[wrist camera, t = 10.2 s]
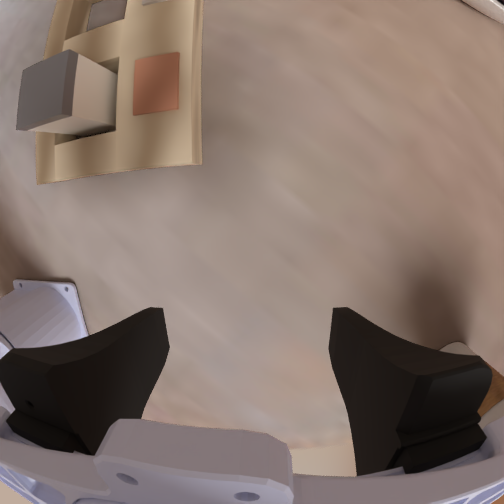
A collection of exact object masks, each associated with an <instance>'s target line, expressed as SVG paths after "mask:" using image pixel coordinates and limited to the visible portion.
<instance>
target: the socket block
mask: <svg viewBox="0 0 504 504" xmlns="http://www.w3.org/2000/svg"><path fill="white" fill-rule="evenodd" d="M99 1H102V0H57V3H56V7H55V10H54V14H53V17H52V21H51V25H50V29H49V33H48V38H47V42H46V47H45V52H44V58H43V60H45V59H47V58H49V57H52V56H54V55H56V54H58V53H61V52H63V51H66V50H68V49H70V50H72V51H74V52H76V53H78V54H80V55H82V56H84V57H86V58H88V59H90V60H92V61H93V62H95V63H97V64H99V65H101V66H103V67H104V68H106V69H108V70H110V71H112V72H113V73H118V83H117V102H116V131H114V132H109V133H104V134H99V135H94V136H90V137H86V138H81V139H77V140H76V135H70V134H61V133H50V132H39V131H36V179H37V185H39V184H46V183H54V182H61V181H66V180H72V179H77V178H83V177H90V176H96V175H103V174H110V173H117V172H125V171H133V170H142V169H151V168H162V167H173V166H185V165H199V164H202V122H201V67H202V26H203V3H204V0H128V1H127V6H126V12H125V18H124V19H122V20H119V21H116V22H113V23H110V24H107V25H104V26H101V27H98V28H95V29H92V30H90V31H87V32H86V30H87V25H88V20H89V15H90V11H91V6H92V4H94V3H97V2H99Z"/></svg>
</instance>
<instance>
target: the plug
mask: <svg viewBox="0 0 504 504" xmlns="http://www.w3.org/2000/svg"><path fill="white" fill-rule="evenodd" d="M117 83H118V75H117V74H115V73H113V72H112V71H110V70H108V69H106V68H104V67H103V66H101V65H99V64H97V63H95V62H93V61H92V60H90V59H88V58H86V57H84V56H82V55H80V54H78V53H76V52H74V51H72V50H70V49H68V50H66V51H63V52H61V53H58V54H56V55H54V56H52V57H49V58H47V59H45V60H43V61H41V62H39V63H36V64H34V65H32V66H30V67H28V68H26V69H25V70H23V73H22V80H21V86H20V94H19V102H18V112H17V125H16V130H24V131H39V132H50V133H61V134H70V135H79V136H87V135H91V134H96V133H101V132H107V131H112V130H116V102H117Z"/></svg>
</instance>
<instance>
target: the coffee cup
mask: <svg viewBox="0 0 504 504" xmlns="http://www.w3.org/2000/svg"><path fill="white" fill-rule="evenodd" d="M439 351H443V352H448V353H454V354H464V355H477V354H475V353H474V352H473V351H472V350H471V349H470V348H468V347H467V346H466V345H465V344H463V343H460V342H454V343H451V344H448V345H446V346H445V347H443V348H442V349H440V350H439ZM485 363H486V364H487V365H488V366H489V367H490V368H491V369H492V374H493V376H492V382H491V386H490V388H489V391H488V393H487V395H486V397H485V399H484V400H483V402H482V404H481V406H480V408H479V410H478V411H477V412H478V413H479V415H480V416H481V421H480V422H479V423H478V424H479V426H480V427H481V429H483V428H484V427H485V426H486V425H487V424H489V423H490V422H493V421H495V420H497V419H499V418H501V417H503V416H504V377H503V376H502V375H501V374H500V373H499V372H497V371H496V370H495V369H494V368H493V367H491V366H490V365H489V364H488V363H487V362H485Z"/></svg>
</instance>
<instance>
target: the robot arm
mask: <svg viewBox="0 0 504 504" xmlns="http://www.w3.org/2000/svg"><path fill="white" fill-rule="evenodd" d="M13 286H14V290H13V291H11V292H10V293H8V294H7V295H5V296H3V297H2V298H0V481H2V482H3V483H4V484H6V485H7V486H9V487H10V488H11V489H13V490H14V491H16V492H17V493H19V494H20V495H22V496H23V497H24V498H26V499H27V500H29V501H30V502H32V503H34V504H490V503H492V502H493V501H495V500H497V499H498V498H500V497H501V496H502V495H503V494H504V416H503V417H501V418H499V419H497V420H495V421H493V422H490V423H489V424H487V425H486V426H485V427H484V428H483V429H481V427H480V426H479V424H478V423H479V422H480V421H481V416H480V415H479V413H478V412H477V411H478V410H479V408H480V406H481V404H482V402H483V400H484V399H485V397H486V395H487V393H488V391H489V388H490V386H491V382H492V376H493V374H492V369H491V368H490V367H489V366H488V365H487V364H486V363H485V361H484V360H483V359H482V358H481V357H480V356H478V355H464V354H454V353H448V352H443V351H438V350H434V349H430V348H427V347H423V346H420V345H417V344H414V343H411V342H409V341H407V340H404V339H402V338H399V337H397V336H395V335H393V334H391V333H389V332H388V331H386V330H384V329H382V328H380V327H379V326H377V325H375V324H374V323H372V322H370V321H369V320H367V319H366V318H364V317H363V316H361V315H360V314H358V313H356V312H355V311H353V310H351V309H350V308H348V307H341V308H333V314H332V323H331V332H330V340H329V354H330V359H331V364H332V368H333V371H334V374H335V377H336V380H337V383H338V385H339V388H340V391H341V394H342V397H343V400H344V403H345V406H346V409H347V413H348V417H349V422H350V428H351V433H352V440H353V446H354V453H355V461H356V472H357V476H356V477H337V476H336V477H335V476H317V475H304V474H293V472H292V457H291V454H290V451H289V449H288V446H287V444H286V443H284V442H282V441H280V440H278V439H276V438H274V437H273V436H271V435H269V434H267V433H261V432H255V431H249V430H240V429H219V428H205V427H194V426H185V425H177V424H169V423H162V422H156V421H149V420H144V419H141V417H142V414H143V411H144V408H145V405H146V403H147V401H148V399H149V396H150V394H151V392H152V390H153V388H154V386H155V384H156V382H157V380H158V378H159V376H160V374H161V371H162V369H163V367H164V365H165V362H166V359H167V355H168V352H169V348H170V346H169V341H168V335H167V330H166V324H165V318H164V312H163V308H154V307H150V308H147V309H144V310H142V311H140V312H138V313H136V314H134V315H132V316H130V317H128V318H126V319H124V320H122V321H121V322H119V323H117V324H115V325H112V326H110V327H108V328H106V329H104V330H102V331H100V332H97V333H95V334H92V335H88V332H87V329H86V325H85V322H84V318H83V314H82V310H81V306H80V302H79V298H78V294H77V290H76V286H75V285H74V284H73V283H68V282H50V281H35V280H21V279H15V280H14V281H13ZM67 288H68V289H67Z"/></svg>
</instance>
